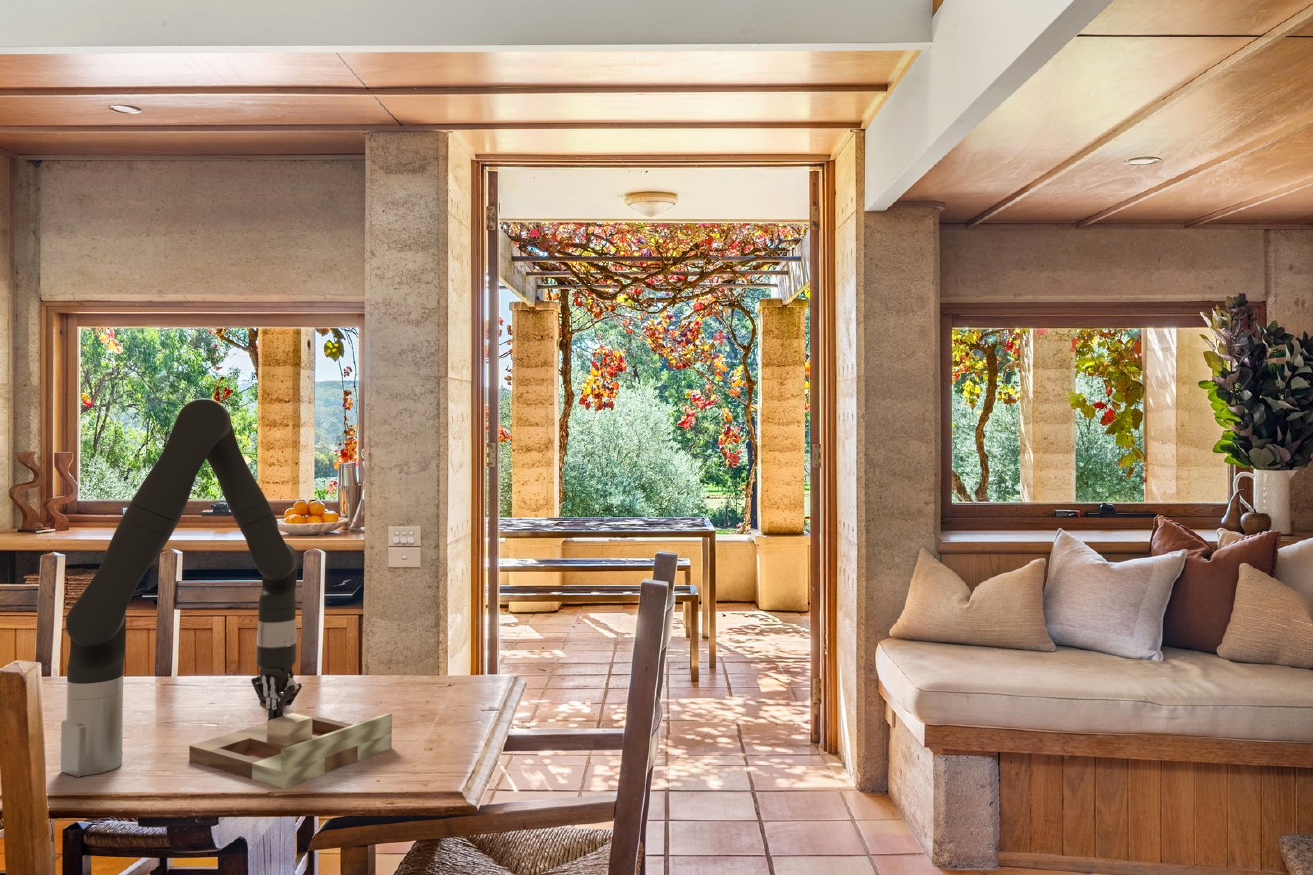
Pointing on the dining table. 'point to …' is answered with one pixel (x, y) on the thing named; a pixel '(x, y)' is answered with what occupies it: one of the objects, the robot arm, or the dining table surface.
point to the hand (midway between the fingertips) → (275, 726)
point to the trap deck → (294, 750)
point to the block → (289, 729)
